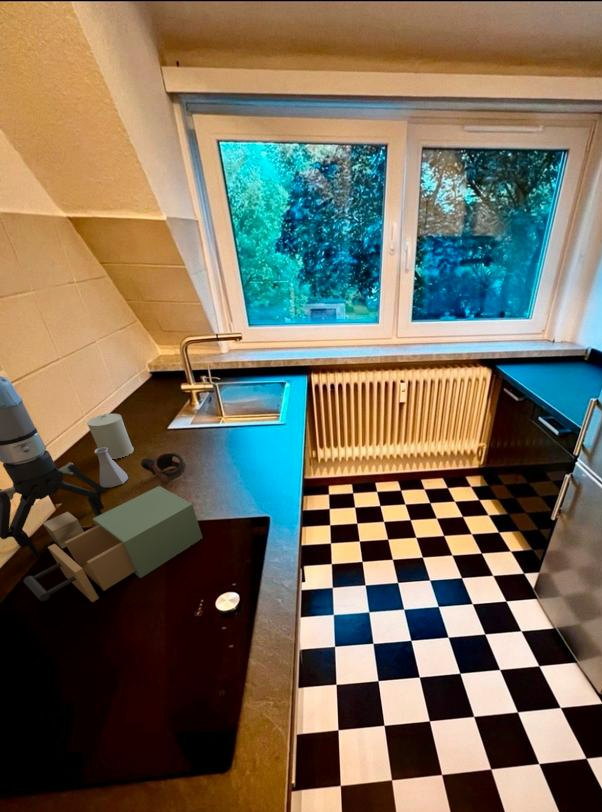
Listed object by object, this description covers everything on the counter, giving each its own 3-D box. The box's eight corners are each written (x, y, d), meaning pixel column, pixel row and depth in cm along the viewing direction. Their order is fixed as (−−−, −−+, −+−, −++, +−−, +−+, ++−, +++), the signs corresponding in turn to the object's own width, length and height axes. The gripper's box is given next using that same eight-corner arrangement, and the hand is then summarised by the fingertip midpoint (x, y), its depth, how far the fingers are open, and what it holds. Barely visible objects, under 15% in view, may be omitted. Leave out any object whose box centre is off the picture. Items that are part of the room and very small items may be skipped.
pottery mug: (190, 465, 116) (188, 450, 109) (184, 493, 111) (182, 478, 104) (146, 460, 112) (141, 444, 106) (138, 488, 107) (132, 473, 101)
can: (133, 443, 127) (120, 409, 121) (134, 455, 120) (121, 419, 114) (101, 450, 123) (86, 415, 117) (101, 463, 117) (85, 426, 110)
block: (62, 548, 85) (52, 531, 82) (52, 540, 87) (42, 522, 85) (86, 536, 88) (77, 519, 86) (76, 528, 91) (67, 511, 88)
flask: (103, 476, 110) (89, 445, 105) (131, 472, 112) (118, 441, 106) (96, 490, 104) (81, 458, 99) (126, 485, 106) (113, 453, 100)
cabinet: (140, 578, 77) (124, 542, 72) (109, 553, 83) (92, 518, 78) (202, 538, 87) (192, 504, 82) (171, 518, 93) (159, 485, 88)
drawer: (57, 624, 67) (36, 594, 63) (31, 595, 73) (10, 565, 69) (160, 559, 80) (148, 530, 76) (131, 538, 86) (119, 511, 82)
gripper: (-52, 492, 66) (11, 578, 77) (99, 437, 83) (133, 514, 94) (-64, 479, 70) (-2, 563, 81) (83, 428, 87) (117, 504, 98)
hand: (71, 537), depth 88 cm, fingers open, 13 cm apart
